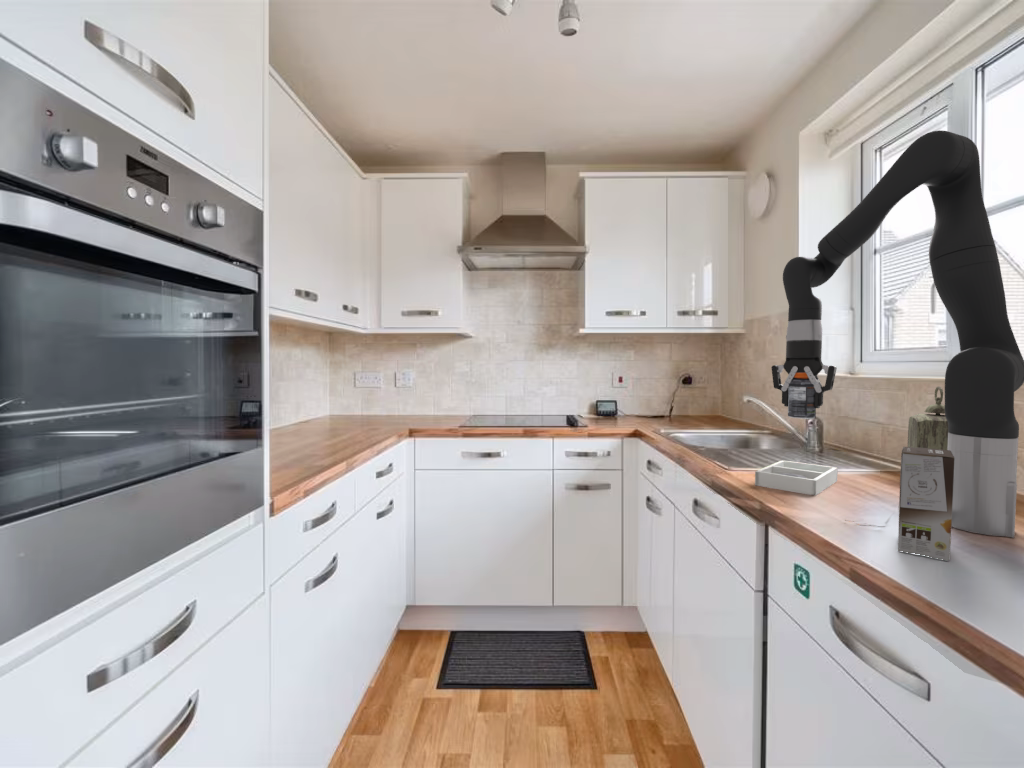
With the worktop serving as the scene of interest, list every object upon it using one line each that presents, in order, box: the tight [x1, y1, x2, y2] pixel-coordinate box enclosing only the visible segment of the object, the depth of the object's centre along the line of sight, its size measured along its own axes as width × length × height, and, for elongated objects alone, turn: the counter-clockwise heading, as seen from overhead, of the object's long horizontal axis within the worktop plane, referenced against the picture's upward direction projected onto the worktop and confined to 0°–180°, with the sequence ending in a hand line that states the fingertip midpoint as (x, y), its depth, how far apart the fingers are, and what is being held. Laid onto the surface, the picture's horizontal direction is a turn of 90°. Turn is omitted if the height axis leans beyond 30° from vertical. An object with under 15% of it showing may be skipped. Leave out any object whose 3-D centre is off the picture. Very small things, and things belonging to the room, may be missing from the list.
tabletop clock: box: [907, 386, 948, 450], centre depth 123 cm, size 14×9×25 cm, turn 148°
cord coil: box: [780, 473, 806, 478], centre depth 114 cm, size 6×6×2 cm
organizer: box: [754, 460, 839, 496], centre depth 117 cm, size 13×20×4 cm, turn 135°
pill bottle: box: [787, 372, 817, 420], centre depth 119 cm, size 6×6×11 cm
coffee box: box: [897, 446, 955, 561], centre depth 78 cm, size 9×6×16 cm
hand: (801, 406), depth 119 cm, fingers closed on pill bottle, 6 cm apart
